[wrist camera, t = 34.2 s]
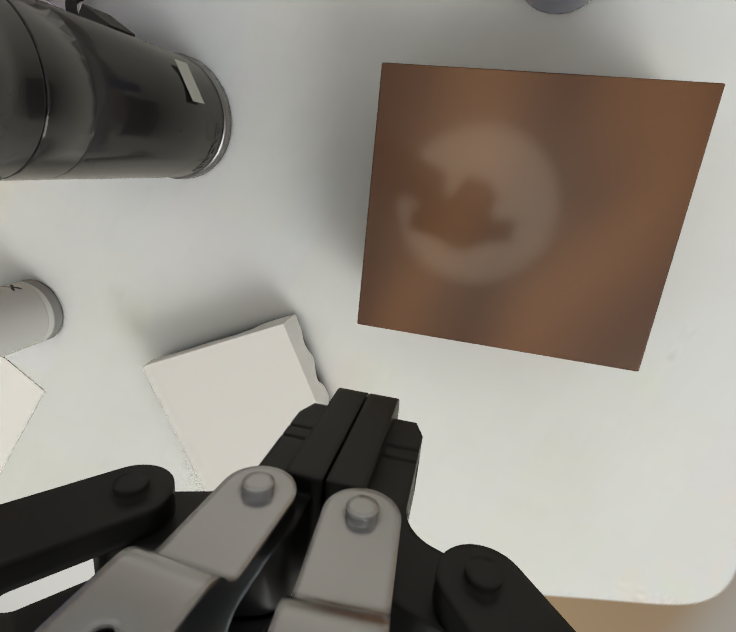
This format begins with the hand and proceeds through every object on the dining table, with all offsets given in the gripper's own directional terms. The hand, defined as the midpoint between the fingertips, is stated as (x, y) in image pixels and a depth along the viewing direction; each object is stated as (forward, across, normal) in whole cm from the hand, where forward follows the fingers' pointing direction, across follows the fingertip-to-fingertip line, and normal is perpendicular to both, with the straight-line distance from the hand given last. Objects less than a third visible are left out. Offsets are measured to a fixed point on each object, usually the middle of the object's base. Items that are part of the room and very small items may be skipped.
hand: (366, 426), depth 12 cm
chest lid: (+21, -4, -4) cm, 21 cm away
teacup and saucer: (+28, +54, +24) cm, 65 cm away
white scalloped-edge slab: (+28, +14, +19) cm, 36 cm away
